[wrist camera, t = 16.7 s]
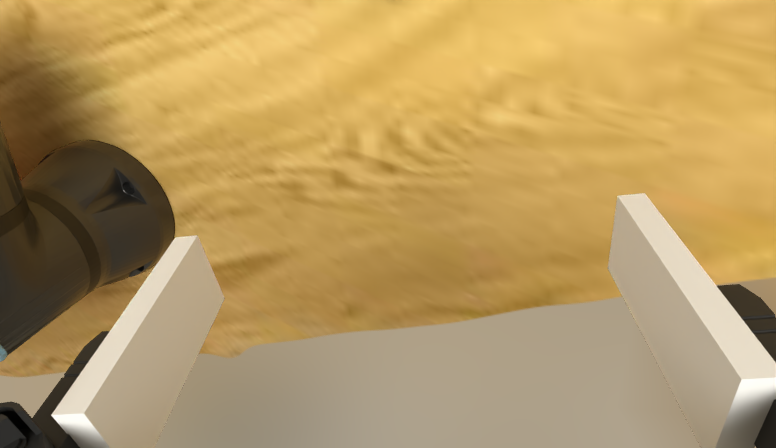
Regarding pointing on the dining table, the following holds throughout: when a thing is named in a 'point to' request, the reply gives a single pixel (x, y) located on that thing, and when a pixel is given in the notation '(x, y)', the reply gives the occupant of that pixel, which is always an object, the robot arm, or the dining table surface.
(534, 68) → the dining table surface
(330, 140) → the dining table surface
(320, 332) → the dining table surface
